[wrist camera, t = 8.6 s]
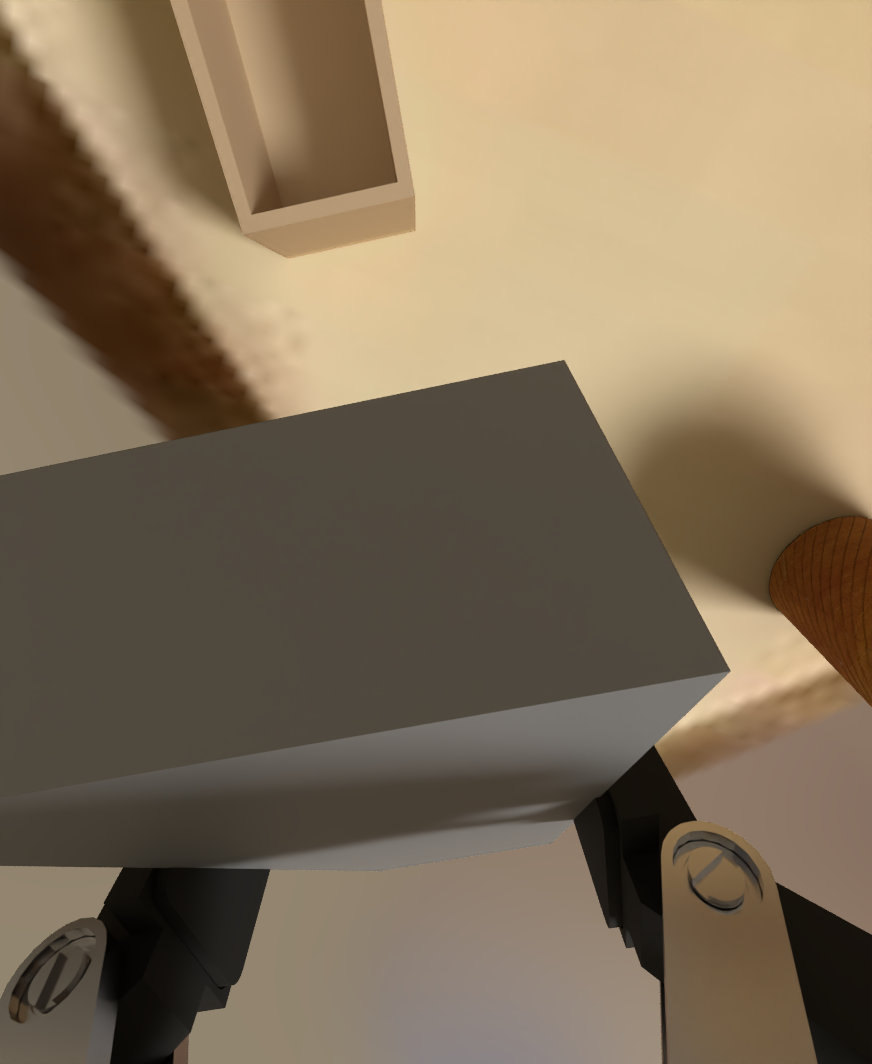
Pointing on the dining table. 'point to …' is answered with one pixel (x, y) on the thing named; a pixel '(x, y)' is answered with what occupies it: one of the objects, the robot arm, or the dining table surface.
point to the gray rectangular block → (336, 637)
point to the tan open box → (302, 118)
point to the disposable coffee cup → (831, 594)
